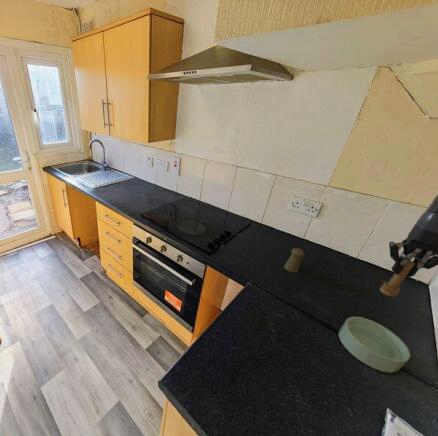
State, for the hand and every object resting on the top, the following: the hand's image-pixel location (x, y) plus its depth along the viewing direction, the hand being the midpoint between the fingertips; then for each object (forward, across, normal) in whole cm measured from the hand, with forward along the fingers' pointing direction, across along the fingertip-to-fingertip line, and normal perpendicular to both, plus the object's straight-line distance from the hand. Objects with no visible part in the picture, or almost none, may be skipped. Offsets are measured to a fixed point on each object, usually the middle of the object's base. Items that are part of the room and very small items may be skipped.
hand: (401, 273), depth 73 cm
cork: (+23, -22, +23) cm, 39 cm away
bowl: (+23, -4, -13) cm, 27 cm away
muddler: (+8, 0, 0) cm, 8 cm away
